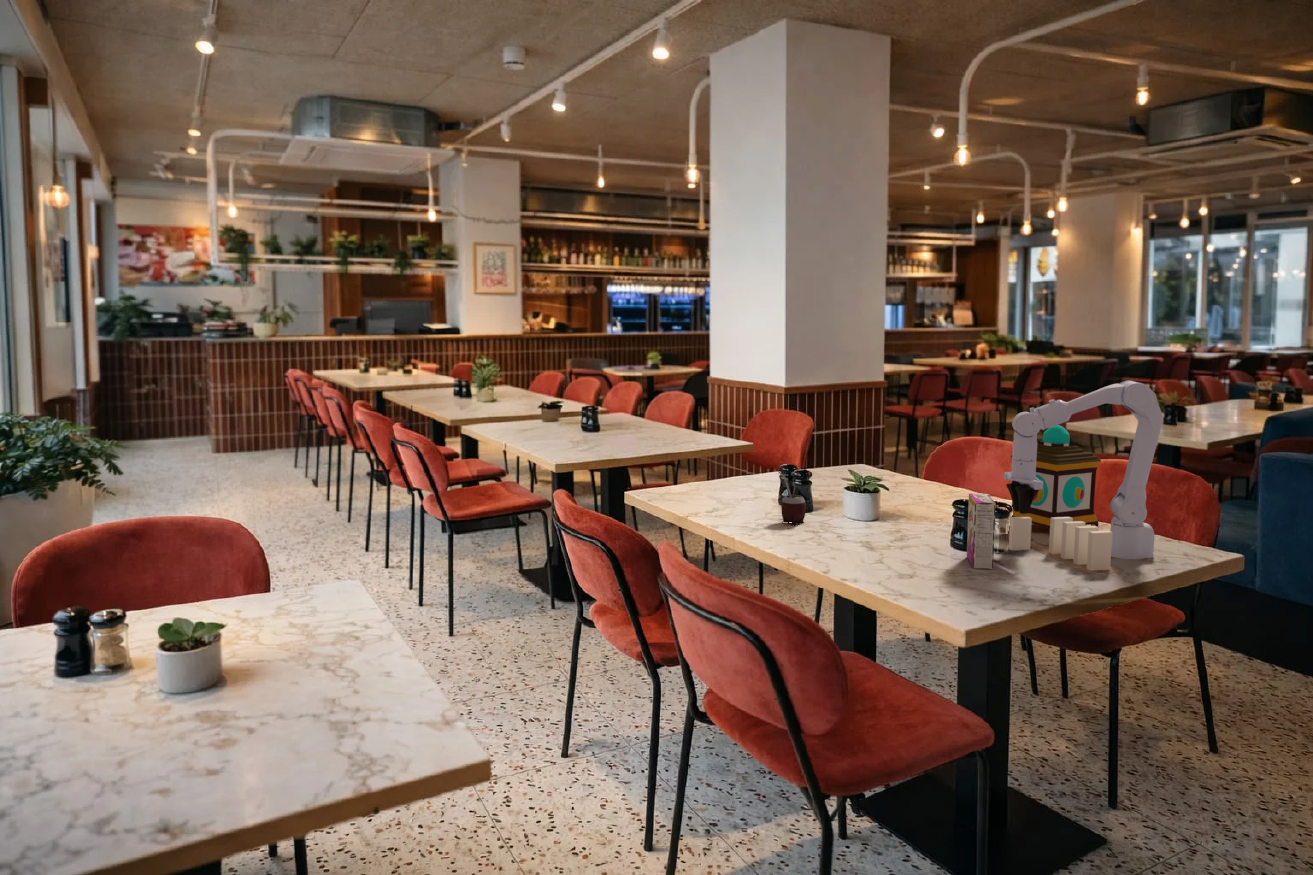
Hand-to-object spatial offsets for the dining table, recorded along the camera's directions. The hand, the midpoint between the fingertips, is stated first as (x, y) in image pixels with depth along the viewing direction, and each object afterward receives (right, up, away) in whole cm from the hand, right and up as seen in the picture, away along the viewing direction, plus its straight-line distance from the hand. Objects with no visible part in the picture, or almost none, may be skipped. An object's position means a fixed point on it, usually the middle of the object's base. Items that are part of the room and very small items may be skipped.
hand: (1021, 512), depth 226 cm
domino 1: (0, -10, +1) cm, 10 cm away
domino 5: (+11, -12, -17) cm, 24 cm away
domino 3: (+9, -11, -7) cm, 16 cm away
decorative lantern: (+19, -7, +25) cm, 33 cm away
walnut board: (+9, -11, -7) cm, 16 cm away
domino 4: (+10, -11, -12) cm, 20 cm away
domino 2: (+9, -10, -2) cm, 13 cm away
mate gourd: (-53, -6, +34) cm, 64 cm away
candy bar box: (-14, -12, -9) cm, 20 cm away
